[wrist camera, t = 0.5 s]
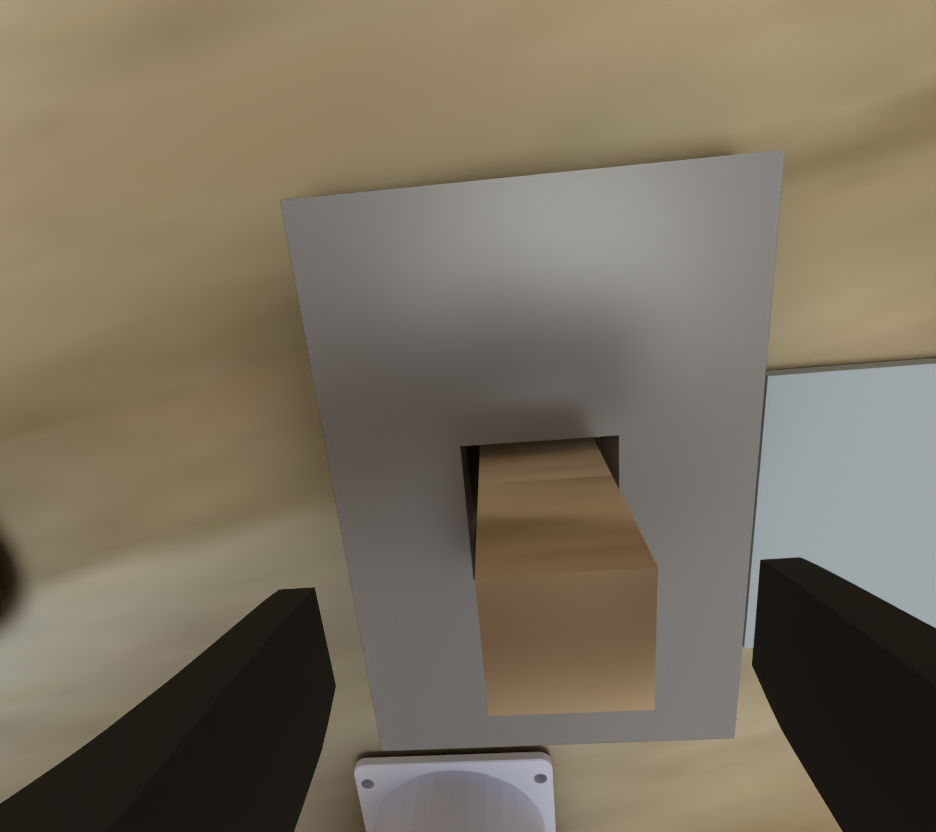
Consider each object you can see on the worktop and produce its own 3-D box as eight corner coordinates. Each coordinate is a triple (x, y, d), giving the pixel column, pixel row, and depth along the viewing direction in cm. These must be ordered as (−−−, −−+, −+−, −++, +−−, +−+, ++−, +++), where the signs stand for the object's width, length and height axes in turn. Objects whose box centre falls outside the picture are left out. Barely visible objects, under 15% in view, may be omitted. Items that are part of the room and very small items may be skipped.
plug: (587, 516, 19) (654, 709, 11) (488, 522, 19) (488, 716, 11) (585, 422, 18) (657, 567, 10) (480, 430, 18) (474, 577, 10)
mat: (1026, 622, 20) (1042, 634, 19) (737, 636, 20) (744, 647, 20) (1105, 344, 16) (1127, 348, 16) (758, 371, 17) (767, 376, 16)
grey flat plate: (706, 680, 21) (734, 738, 18) (393, 693, 22) (381, 751, 19) (738, 161, 15) (784, 149, 13) (311, 204, 16) (279, 200, 14)
